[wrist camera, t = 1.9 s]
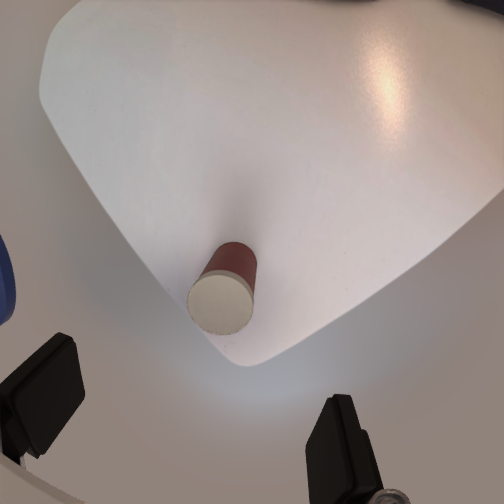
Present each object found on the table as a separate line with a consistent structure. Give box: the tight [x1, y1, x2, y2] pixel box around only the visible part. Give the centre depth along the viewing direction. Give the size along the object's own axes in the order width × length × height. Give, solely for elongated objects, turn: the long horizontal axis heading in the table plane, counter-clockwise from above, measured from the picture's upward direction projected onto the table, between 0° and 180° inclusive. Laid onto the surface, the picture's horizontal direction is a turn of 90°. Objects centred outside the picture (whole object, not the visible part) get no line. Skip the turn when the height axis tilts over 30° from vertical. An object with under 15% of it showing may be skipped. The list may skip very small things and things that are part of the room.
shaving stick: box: [187, 242, 257, 335], centre depth 22 cm, size 4×4×9 cm
